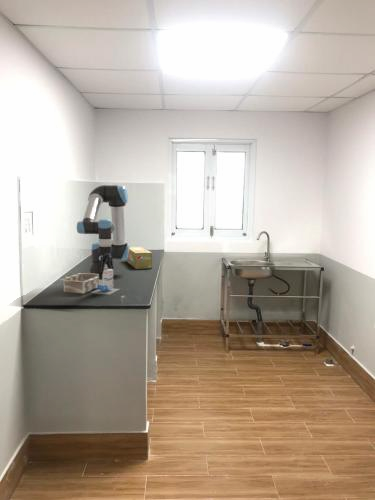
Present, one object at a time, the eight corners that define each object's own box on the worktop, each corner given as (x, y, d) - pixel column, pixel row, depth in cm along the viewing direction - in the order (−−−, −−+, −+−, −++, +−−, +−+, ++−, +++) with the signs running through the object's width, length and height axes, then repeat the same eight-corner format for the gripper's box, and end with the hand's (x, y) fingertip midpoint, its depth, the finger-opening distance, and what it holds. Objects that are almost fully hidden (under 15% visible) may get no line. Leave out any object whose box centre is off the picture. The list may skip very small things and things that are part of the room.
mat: (102, 288, 259) (102, 287, 259) (119, 289, 256) (119, 289, 256) (90, 293, 246) (90, 292, 246) (109, 294, 243) (109, 294, 243)
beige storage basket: (80, 283, 271) (80, 272, 270) (106, 285, 266) (106, 274, 265) (58, 292, 247) (57, 280, 247) (85, 294, 242) (85, 282, 241)
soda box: (152, 268, 329) (152, 252, 328) (135, 269, 325) (135, 253, 323) (141, 260, 367) (141, 246, 366) (126, 261, 363) (126, 246, 362)
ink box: (102, 290, 246) (102, 266, 244) (97, 289, 249) (96, 265, 247) (113, 288, 253) (113, 264, 251) (108, 287, 256) (108, 263, 254)
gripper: (108, 243, 259) (108, 279, 262) (89, 247, 238) (90, 286, 241) (119, 244, 257) (119, 280, 260) (101, 248, 236) (102, 287, 239)
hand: (105, 283), depth 250 cm, fingers closed on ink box, 9 cm apart
